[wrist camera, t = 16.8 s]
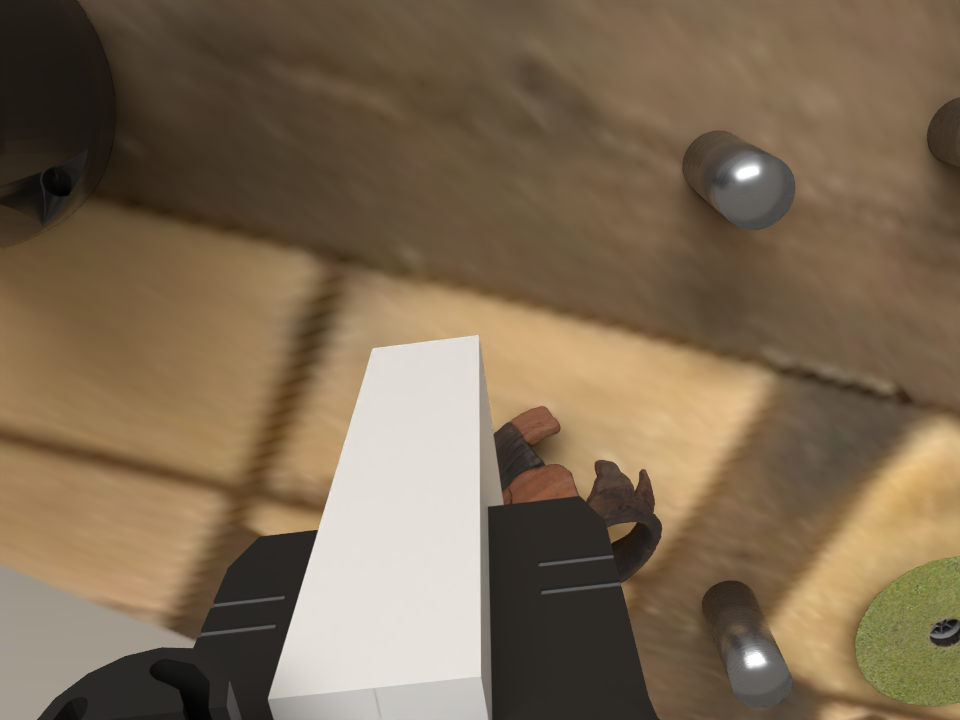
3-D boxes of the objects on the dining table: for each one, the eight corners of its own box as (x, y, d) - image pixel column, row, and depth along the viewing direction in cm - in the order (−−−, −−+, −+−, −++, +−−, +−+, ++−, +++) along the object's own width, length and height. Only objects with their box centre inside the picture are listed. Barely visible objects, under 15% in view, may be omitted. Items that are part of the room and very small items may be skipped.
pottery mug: (584, 366, 47) (662, 474, 42) (617, 456, 54) (688, 559, 49) (391, 473, 47) (445, 597, 41) (450, 550, 54) (502, 666, 48)
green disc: (956, 504, 51) (974, 522, 49) (1063, 609, 54) (1084, 630, 52) (806, 618, 54) (817, 640, 52) (915, 712, 57) (929, 735, 55)
